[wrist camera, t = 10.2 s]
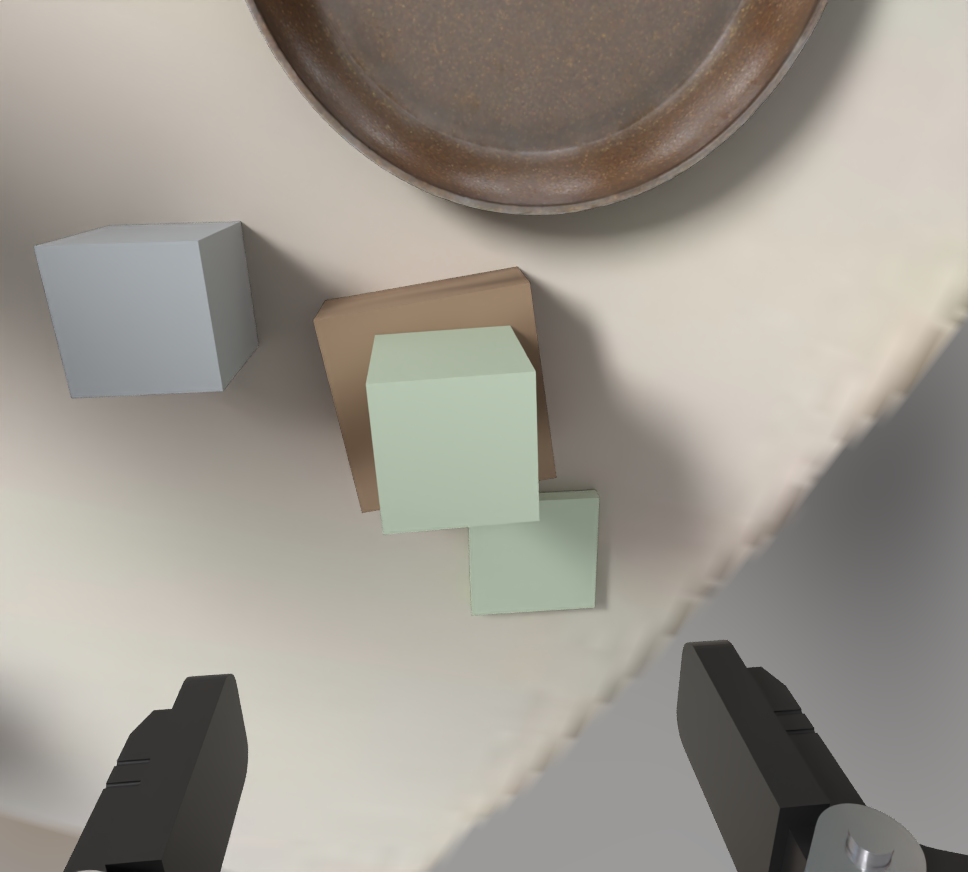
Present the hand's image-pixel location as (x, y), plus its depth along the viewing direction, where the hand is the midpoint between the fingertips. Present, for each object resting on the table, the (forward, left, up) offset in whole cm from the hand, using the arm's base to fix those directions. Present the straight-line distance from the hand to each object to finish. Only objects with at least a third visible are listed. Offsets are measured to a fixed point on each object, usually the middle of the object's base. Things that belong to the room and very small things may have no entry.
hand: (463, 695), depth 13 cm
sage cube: (0, 0, -16) cm, 16 cm away
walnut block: (0, 0, -20) cm, 20 cm away
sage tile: (+9, +4, -20) cm, 22 cm away
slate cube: (-4, -10, -20) cm, 23 cm away
